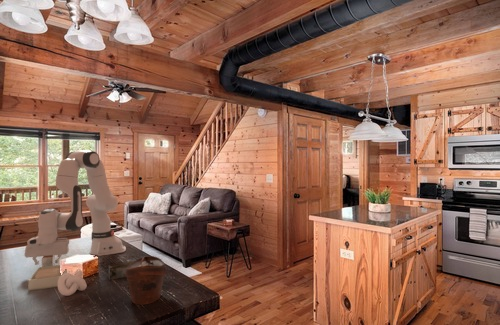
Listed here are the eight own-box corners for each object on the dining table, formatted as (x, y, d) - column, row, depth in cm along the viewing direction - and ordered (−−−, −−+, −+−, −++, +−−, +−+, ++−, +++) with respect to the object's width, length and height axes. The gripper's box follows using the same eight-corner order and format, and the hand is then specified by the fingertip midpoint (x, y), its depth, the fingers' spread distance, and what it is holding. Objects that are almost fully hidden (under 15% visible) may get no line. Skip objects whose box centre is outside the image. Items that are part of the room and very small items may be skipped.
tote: (69, 273, 163) (69, 264, 163) (62, 286, 147) (62, 276, 146) (39, 276, 158) (39, 267, 158) (28, 290, 141) (28, 280, 141)
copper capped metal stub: (54, 270, 167) (54, 253, 167) (52, 273, 162) (52, 256, 162) (44, 271, 165) (44, 254, 165) (41, 274, 161) (41, 257, 160)
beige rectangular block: (59, 279, 153) (59, 267, 152) (57, 284, 147) (57, 271, 147) (39, 282, 149) (39, 269, 149) (35, 287, 144) (35, 273, 144)
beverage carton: (108, 275, 162) (108, 263, 162) (144, 269, 171) (145, 258, 171) (108, 280, 155) (109, 267, 155) (147, 274, 164) (147, 262, 164)
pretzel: (61, 288, 145) (61, 270, 144) (89, 284, 149) (89, 267, 149) (55, 298, 134) (55, 278, 134) (85, 294, 138) (85, 275, 138)
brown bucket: (151, 284, 149) (151, 249, 149) (175, 297, 137) (175, 259, 136) (116, 298, 135) (116, 259, 135) (139, 313, 123) (139, 270, 122)
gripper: (70, 235, 170) (69, 259, 170) (27, 238, 163) (27, 263, 163) (68, 238, 164) (67, 263, 164) (23, 241, 157) (23, 267, 157)
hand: (47, 263), depth 163 cm, fingers open, 8 cm apart
